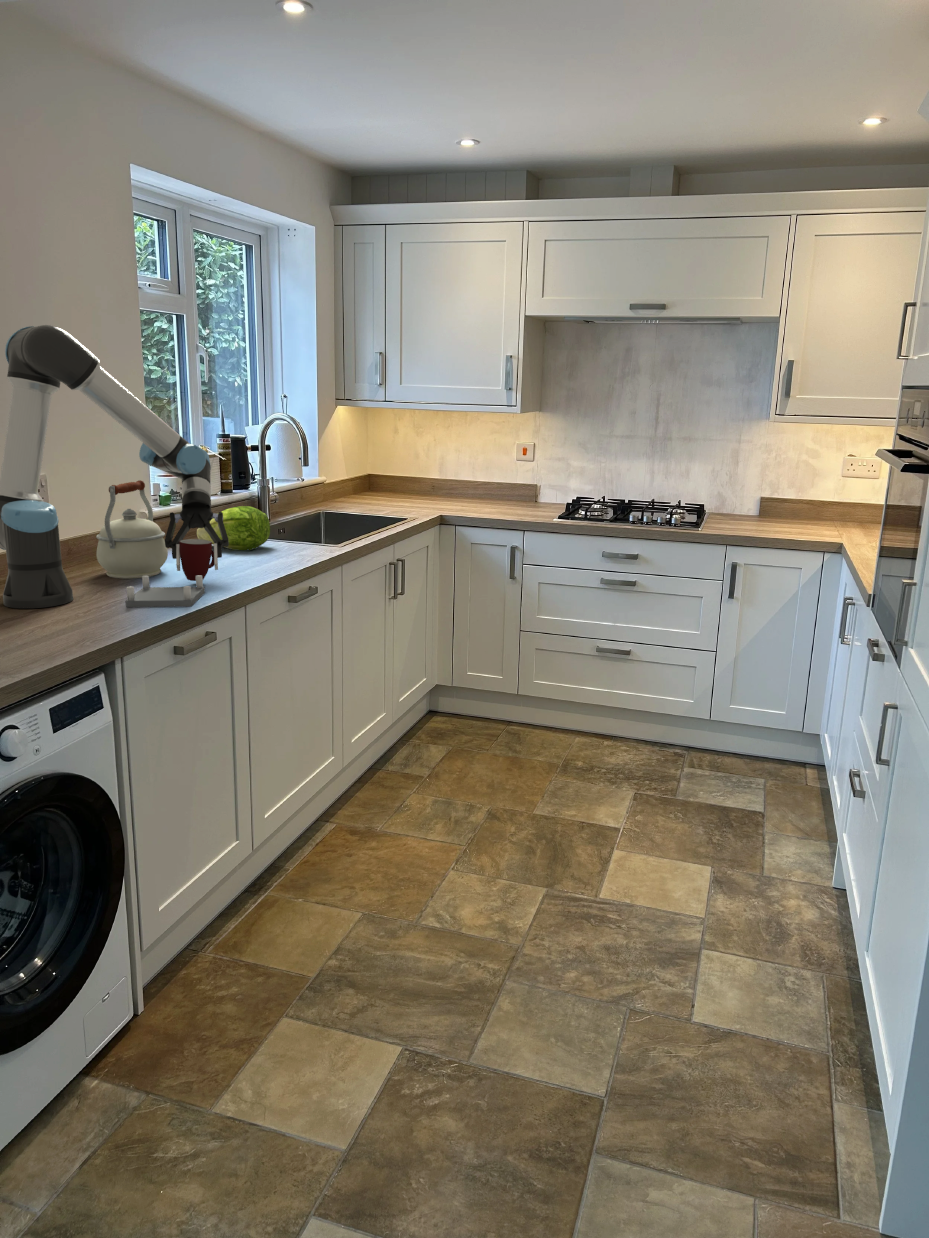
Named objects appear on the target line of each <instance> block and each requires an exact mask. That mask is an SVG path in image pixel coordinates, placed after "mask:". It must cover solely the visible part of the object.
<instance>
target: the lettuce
mask: <svg viewBox="0 0 929 1238" xmlns="http://www.w3.org/2000/svg"><path fill="white" fill-rule="evenodd" d="M221 512H222V513H223V523H224V526H225V530H226V533H227V536H228V540H229V546H227V547H225V546H224V547H223V548H226V549H229V550H233V551H252V550H255V549H258V548H259V547H261V546H262V545H264V544H265V543H266V542H267V541H268V539H269V537H270V535H271V524H270V523H271V522H270V520H269V517H268V515H267V514H266V513H265V512H263V511H261V510H260V509H258V508H257V507H256V508H255V507H253V506H251V505H250V506H249V505H248V506H247V505H246V506H245V505H244V506H243V505H241V506H235V507H230V508H226V509H224V510H222V511H221ZM210 524H211V526H212V527H213V529H214V530H215V532H216V534H217V535H218V537H219V538H220V540H222V536H221V533H220V530H219V527H218V523H217V522H216V521H215V519H214V518H213V519H212V520H211V521H210ZM196 537H197V539H201V540H208V541H211V542H212V546H214V542H213V540H212V539H211V537H210V536H209V534H208V533H207V531H206V530H205V529H204V527H203V528H196Z"/></svg>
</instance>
